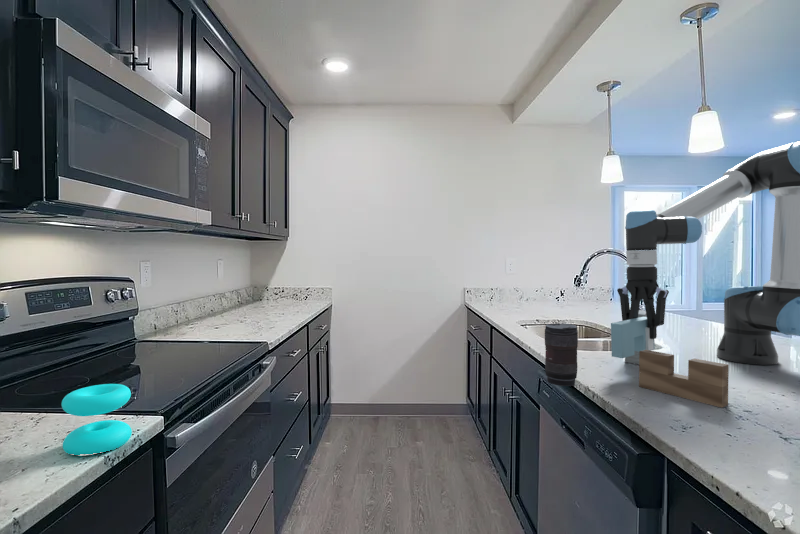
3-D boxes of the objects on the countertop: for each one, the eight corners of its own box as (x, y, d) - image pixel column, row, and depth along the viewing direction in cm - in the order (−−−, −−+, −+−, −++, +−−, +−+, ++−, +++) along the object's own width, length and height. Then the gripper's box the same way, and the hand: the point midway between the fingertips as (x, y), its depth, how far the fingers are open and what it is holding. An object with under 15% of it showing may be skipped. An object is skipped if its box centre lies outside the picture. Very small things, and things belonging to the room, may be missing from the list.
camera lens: (537, 380, 115) (538, 324, 115) (561, 376, 118) (561, 322, 118) (560, 388, 108) (560, 329, 107) (584, 385, 111) (585, 326, 111)
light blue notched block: (643, 347, 125) (643, 316, 125) (654, 349, 123) (653, 317, 123) (611, 356, 117) (610, 323, 117) (622, 358, 114) (621, 324, 114)
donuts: (107, 399, 71) (45, 399, 71) (108, 459, 72) (47, 459, 71) (142, 381, 81) (88, 382, 81) (143, 434, 82) (89, 434, 81)
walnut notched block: (645, 384, 111) (645, 349, 111) (728, 405, 96) (728, 364, 96) (639, 386, 109) (639, 351, 109) (721, 407, 94) (722, 366, 94)
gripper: (606, 266, 126) (608, 346, 127) (664, 266, 113) (666, 356, 114) (621, 265, 131) (622, 342, 131) (679, 265, 117) (680, 351, 118)
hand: (643, 348), depth 122 cm, fingers closed on light blue notched block, 3 cm apart
